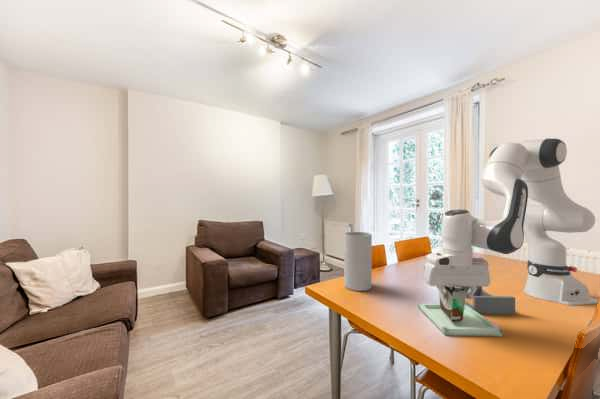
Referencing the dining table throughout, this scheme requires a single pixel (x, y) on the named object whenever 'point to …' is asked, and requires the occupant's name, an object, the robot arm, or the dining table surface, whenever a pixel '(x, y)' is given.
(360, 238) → the cylinder vase
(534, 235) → the robot arm
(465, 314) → the tray
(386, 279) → the dining table surface
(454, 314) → the food container
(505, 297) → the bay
